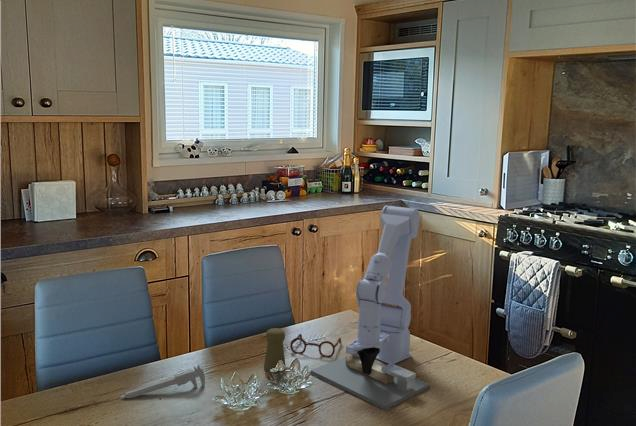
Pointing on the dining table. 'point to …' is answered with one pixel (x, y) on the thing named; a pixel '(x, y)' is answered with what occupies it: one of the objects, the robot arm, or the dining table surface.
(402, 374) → the block
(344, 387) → the charcoal board
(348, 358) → the wooden link
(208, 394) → the dining table surface
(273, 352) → the cork
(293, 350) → the glasses
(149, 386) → the caliper
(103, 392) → the dining table surface
